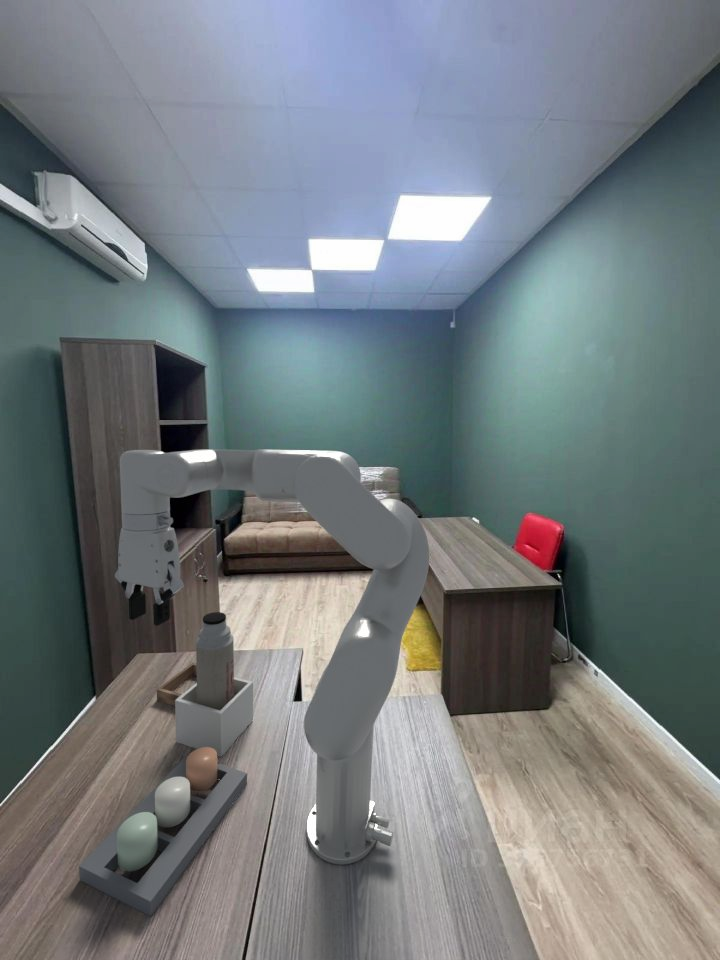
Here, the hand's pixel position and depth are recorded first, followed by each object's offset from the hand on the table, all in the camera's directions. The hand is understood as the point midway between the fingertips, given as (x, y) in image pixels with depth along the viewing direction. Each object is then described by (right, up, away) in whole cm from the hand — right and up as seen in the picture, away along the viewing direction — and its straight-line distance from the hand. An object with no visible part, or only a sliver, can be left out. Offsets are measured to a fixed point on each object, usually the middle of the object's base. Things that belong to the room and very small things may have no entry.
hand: (149, 618), depth 76 cm
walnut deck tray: (-5, -31, +35) cm, 47 cm away
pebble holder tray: (+5, -36, -2) cm, 37 cm away
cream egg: (+5, -33, -2) cm, 34 cm away
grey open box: (+5, -33, +21) cm, 40 cm away
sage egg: (+3, -34, -9) cm, 35 cm away
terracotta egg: (+8, -33, +5) cm, 34 cm away
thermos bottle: (+5, -33, +21) cm, 40 cm away
